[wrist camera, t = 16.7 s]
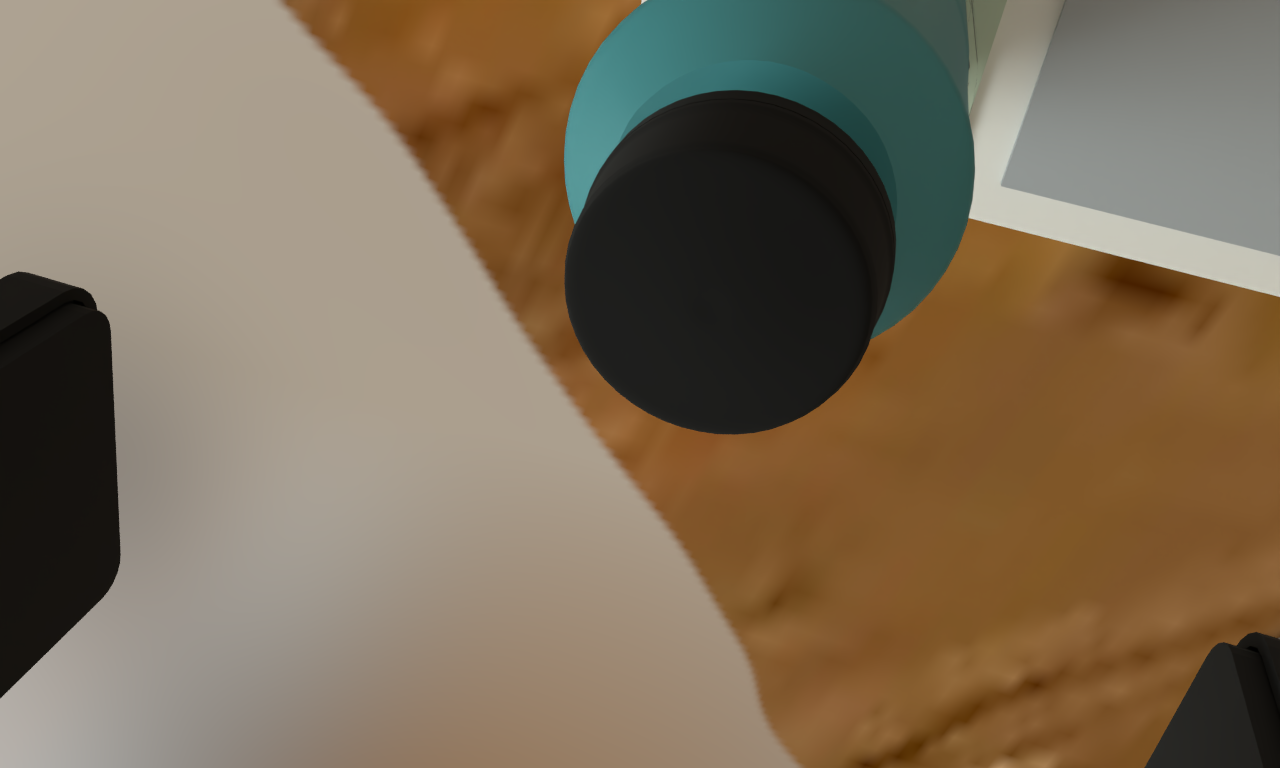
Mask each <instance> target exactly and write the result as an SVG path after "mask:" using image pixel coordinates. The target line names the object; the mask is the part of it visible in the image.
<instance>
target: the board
mask: <svg viewBox="0 0 1280 768" xmlns="http://www.w3.org/2000/svg"><path fill="white" fill-rule="evenodd" d="M645 1H647V0H642V2H641V4H642V3H644V2H645ZM972 1H973V2H971V0H970V1H969V0H966V11H967V25H968V39H969V62H970V68H969V74H968V83H969V84H968V109H969V114H970V116H969V119H970V124H971V130H972V135H973V140H974V155H975V179H974V190H973V200H972V205H971V209H970V213H969V217H968V218H971V219H975V220H979V221H983V222H987V223H991V224H995V225H999V226H1003V227H1007V228H1011V229H1015V230H1018V231H1022V232H1026V233H1030V234H1034V235H1038V236H1042V237H1046V238H1050V239H1054V240H1058V241H1062V242H1066V243H1070V244H1074V245H1078V246H1082V247H1085V248H1089V249H1093V250H1097V251H1101V252H1105V253H1109V254H1113V255H1117V256H1121V257H1125V258H1129V259H1133V260H1137V261H1141V262H1145V263H1149V264H1152V265H1156V266H1160V267H1164V268H1168V269H1172V270H1176V271H1180V272H1184V273H1188V274H1192V275H1196V276H1200V277H1204V278H1208V279H1212V280H1216V281H1219V282H1223V283H1227V284H1231V285H1235V286H1239V287H1243V288H1247V289H1251V290H1255V291H1259V292H1263V293H1267V294H1271V295H1275V296H1279V297H1280V0H972ZM970 3H971V4H970ZM972 4H973V6H972ZM971 7H973V10H974V11H973V13H972V8H971ZM970 11H971V12H970ZM974 13H975V14H974ZM973 17H974V22H975V23H974V24H973ZM968 20H969V21H968ZM975 27H976V28H975ZM974 29H975V34H974ZM976 36H977V38H976ZM975 39H976V45H975ZM977 49H978V50H977ZM976 50H977V55H976ZM977 61H978V62H977ZM976 80H977V81H976ZM975 86H976V87H975ZM974 92H975V94H974ZM973 99H974V100H973ZM972 104H973V105H972ZM971 107H972V109H971ZM970 111H971V112H970Z"/></svg>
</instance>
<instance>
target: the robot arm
mask: <svg viewBox="0 0 1280 768" xmlns="http://www.w3.org/2000/svg"><path fill="white" fill-rule="evenodd" d="M119 564H120V533H119V509H118V486H117V463H116V442H115V418H114V394H113V373H112V350H111V330H110V324H109V321H108V319H107V317H106V315H105V314H103V313H102V312H100V311H97V307H96V303H95V301H94V299H93V297H92V295H91V294H90V293H88V292H87V291H86V290H84V289H82V288H79V287H75V286H72V285H68V284H65V283H61V282H58V281H55V280H51V279H48V278H45V277H41V276H37V275H34V274H30V273H26V272H16V273H13V274H10V275H7V276H5V277H3V278H2V279H0V698H1V697H2V696H3V695H4V694H5V693H6V692H7V691H8V690H9V689H10V688H11V687H12V686H13V685H14V684H15V683H16V682H17V681H18V680H19V679H21V678H22V676H24V675H25V673H27V672H28V671H29V670H30V669H31V668H32V667H33V666H34V665H35V664H36V663H37V662H38V661H39V660H40V659H41V658H42V657H43V656H44V655H45V654H46V653H47V652H48V651H49V650H50V649H51V648H52V647H53V646H54V645H55V644H56V643H57V642H58V641H59V640H60V639H61V638H62V637H63V636H64V635H65V634H66V633H67V632H68V631H69V630H70V629H71V628H73V627H74V626H75V625H76V624H77V622H79V621H80V620H81V619H82V618H83V617H84V616H85V615H86V614H87V613H88V612H89V611H90V610H91V609H92V608H93V607H94V606H95V605H96V604H97V603H98V602H99V601H100V600H101V599H102V598H103V597H104V595H105V594H106V593H107V592H108V590H109V589H110V587H111V585H112V584H113V582H114V579H115V577H116V575H117V572H118V568H119ZM1145 768H1280V638H1274V637H1271V636H1268V635H1264V634H1261V633H1257V632H1255V633H1250V634H1248V635H1246V636H1245V637H1244V638H1243V639H1242V640H1240V642H1239V643H1238V645H1237V646H1234V645H1231V644H1228V643H1224V642H1223V643H1218V644H1217V645H1216V646H1215V647H1213V648H1212V650H1211V651H1210V653H1209V654H1208V656H1207V657H1206V659H1205V661H1204V663H1203V664H1202V666H1201V668H1200V670H1199V672H1198V673H1197V675H1196V677H1195V679H1194V680H1193V682H1192V684H1191V686H1190V688H1189V689H1188V691H1187V693H1186V695H1185V697H1184V698H1183V700H1182V702H1181V704H1180V706H1179V707H1178V709H1177V711H1176V713H1175V714H1174V716H1173V718H1172V720H1171V722H1170V723H1169V725H1168V727H1167V729H1166V731H1165V732H1164V734H1163V736H1162V738H1161V740H1160V741H1159V743H1158V745H1157V747H1156V748H1155V750H1154V752H1153V754H1152V756H1151V757H1150V759H1149V761H1148V763H1147V765H1146V766H1145Z"/></svg>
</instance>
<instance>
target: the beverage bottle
mask: <svg viewBox="0 0 1280 768" xmlns="http://www.w3.org/2000/svg"><path fill="white" fill-rule="evenodd" d="M969 1H970V0H969ZM971 2H973V1H972V0H971ZM970 4H971V3H970ZM972 6H973V4H972ZM971 8H972V13H973V11H974V10H973V7H971ZM970 12H971V11H970ZM974 14H975V13H974ZM968 21H969V20H968ZM974 23H975V22H974V17H973V24H974ZM975 28H976V27H975ZM974 34H975V29H974ZM976 38H977V36H976ZM975 45H976V39H975ZM977 50H978V49H977ZM977 50H976V55H977ZM977 62H978V61H977ZM969 68H970V62H969V39H968V25H967V11H966V0H647V1H645V2H644V3H642V4H641V5H640V6H639V7H637V8H636V9H635V10H634V11H633V12H632V13H631V14H629V15H628V16H627V17H626V18H625V19H624V20H623V21H622V22H621V23H620V24H619V25H618V26H617V27H616V28H615V29H614V30H613V31H612V33H611V34H610V35H609V36H608V37H607V38H606V39H605V40H604V41H603V43H602V44H601V46H600V47H599V49H598V50H597V52H596V53H595V55H594V56H593V58H592V59H591V61H590V62H589V64H588V66H587V68H586V70H585V72H584V74H583V76H582V79H581V81H580V83H579V85H578V87H577V90H576V93H575V96H574V99H573V102H572V106H571V109H570V114H569V119H568V124H567V129H566V137H565V152H564V165H565V183H566V189H567V194H568V200H569V205H570V209H571V212H572V216H573V219H574V222H575V226H574V229H573V232H572V235H571V238H570V241H569V244H568V250H567V255H566V260H565V296H566V304H567V308H568V313H569V318H570V321H571V323H572V326H573V329H574V332H575V335H576V337H577V339H578V341H579V343H580V345H581V347H582V349H583V351H584V352H585V354H586V355H587V357H588V358H589V360H590V361H591V363H592V365H593V366H594V367H595V368H596V370H597V371H598V372H599V373H600V374H601V376H602V377H603V378H604V379H605V380H606V381H607V382H608V383H609V384H610V385H611V386H612V387H613V388H614V389H615V390H616V391H617V392H618V393H620V394H621V395H622V396H624V397H625V398H626V399H627V400H629V401H630V402H631V403H633V404H634V405H636V406H637V407H639V408H641V409H642V410H644V411H646V412H647V413H649V414H651V415H653V416H655V417H657V418H659V419H661V420H663V421H666V422H669V423H671V424H674V425H677V426H680V427H683V428H687V429H691V430H696V431H700V432H707V433H714V434H746V433H755V432H760V431H765V430H770V429H773V428H776V427H779V426H782V425H784V424H787V423H790V422H792V421H794V420H796V419H798V418H801V417H803V416H805V415H806V414H808V413H809V412H811V411H812V410H814V409H816V408H817V407H819V406H820V405H821V404H822V403H824V402H825V401H826V400H827V399H828V398H830V397H831V396H832V395H833V394H834V393H836V392H837V391H838V390H839V389H840V388H841V386H842V385H843V384H844V383H845V382H846V381H847V380H848V379H849V378H850V376H851V375H852V373H853V372H854V370H855V369H856V368H857V366H858V365H859V363H860V361H861V359H862V357H863V355H864V353H865V351H866V349H867V347H868V345H869V342H870V339H872V338H874V337H876V336H878V335H879V334H881V333H882V332H884V331H886V330H887V329H889V328H891V327H892V326H894V325H895V324H897V323H898V322H899V321H900V320H902V319H903V318H904V317H905V316H907V315H908V314H909V313H910V312H912V311H913V310H914V309H915V308H916V307H917V306H918V305H919V304H920V303H921V302H922V300H923V299H924V298H925V297H926V296H927V295H928V294H929V293H930V292H931V291H932V289H933V288H934V287H935V285H936V284H937V282H938V281H939V280H940V278H941V277H942V276H943V274H944V273H945V271H946V270H947V268H948V266H949V264H950V262H951V260H952V259H953V257H954V255H955V253H956V251H957V249H958V247H959V244H960V241H961V239H962V236H963V233H964V231H965V228H966V226H967V222H968V217H969V213H970V209H971V205H972V200H973V190H974V179H975V155H974V140H973V135H972V130H971V124H970V119H969V116H970V114H969V109H968V84H969V83H968V74H969ZM976 81H977V80H976ZM975 87H976V86H975ZM974 94H975V92H974ZM973 100H974V99H973ZM972 105H973V104H972ZM971 109H972V107H971ZM970 112H971V111H970Z"/></svg>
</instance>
